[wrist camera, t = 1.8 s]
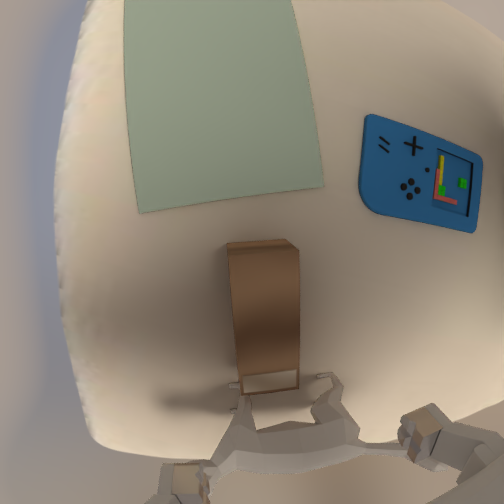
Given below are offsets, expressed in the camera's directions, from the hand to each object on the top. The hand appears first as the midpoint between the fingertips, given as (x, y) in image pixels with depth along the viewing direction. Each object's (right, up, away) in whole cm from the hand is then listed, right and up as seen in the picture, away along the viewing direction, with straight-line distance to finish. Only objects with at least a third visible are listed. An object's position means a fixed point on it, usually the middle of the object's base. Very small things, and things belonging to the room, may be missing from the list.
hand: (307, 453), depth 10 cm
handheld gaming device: (+14, +15, +15) cm, 25 cm away
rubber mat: (-5, +21, +11) cm, 24 cm away
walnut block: (-2, +3, +15) cm, 16 cm away
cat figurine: (+1, -6, +17) cm, 18 cm away
